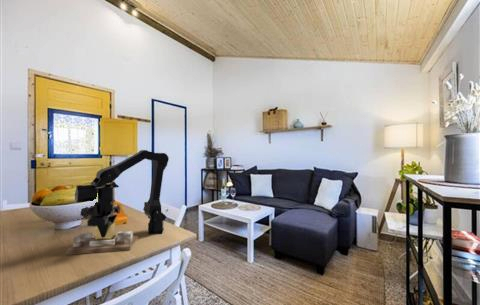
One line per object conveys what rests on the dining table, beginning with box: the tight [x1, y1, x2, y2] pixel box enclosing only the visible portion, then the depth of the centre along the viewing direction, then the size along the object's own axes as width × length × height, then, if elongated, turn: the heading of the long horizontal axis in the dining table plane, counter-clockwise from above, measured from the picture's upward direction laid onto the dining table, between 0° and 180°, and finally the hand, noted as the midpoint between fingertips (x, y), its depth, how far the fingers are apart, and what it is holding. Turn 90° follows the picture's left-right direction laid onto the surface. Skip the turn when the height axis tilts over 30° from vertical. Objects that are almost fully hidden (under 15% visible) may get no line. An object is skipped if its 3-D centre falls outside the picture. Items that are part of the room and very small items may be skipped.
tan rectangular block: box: [94, 222, 116, 240], centre depth 93 cm, size 6×4×6 cm, turn 101°
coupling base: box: [66, 230, 139, 255], centre depth 93 cm, size 23×12×6 cm, turn 101°
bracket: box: [113, 200, 129, 227], centre depth 121 cm, size 11×7×12 cm, turn 132°
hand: (105, 235), depth 93 cm, fingers closed on tan rectangular block, 4 cm apart
